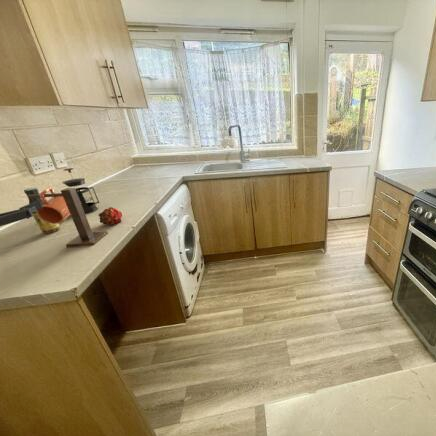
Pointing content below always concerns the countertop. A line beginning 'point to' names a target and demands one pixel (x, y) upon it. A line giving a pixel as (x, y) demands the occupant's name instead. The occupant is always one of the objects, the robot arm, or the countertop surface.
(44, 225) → the sauce bottle
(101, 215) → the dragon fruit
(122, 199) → the countertop surface
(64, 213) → the mug
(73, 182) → the french press
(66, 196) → the mug stand
